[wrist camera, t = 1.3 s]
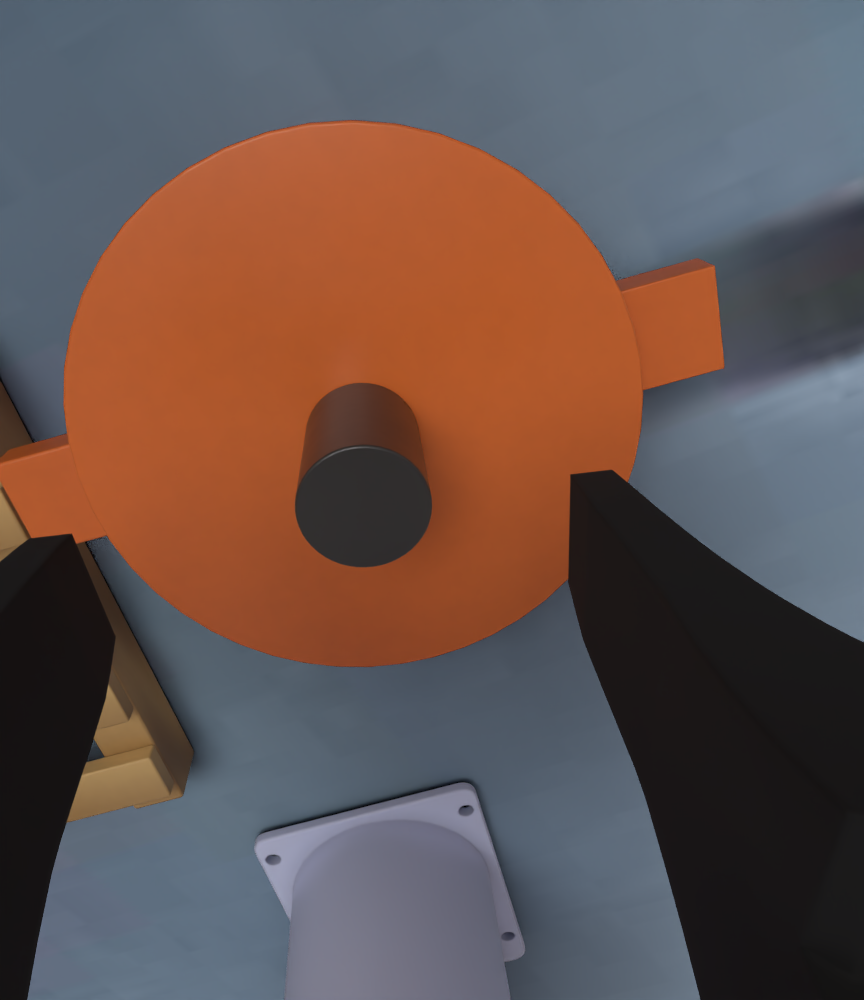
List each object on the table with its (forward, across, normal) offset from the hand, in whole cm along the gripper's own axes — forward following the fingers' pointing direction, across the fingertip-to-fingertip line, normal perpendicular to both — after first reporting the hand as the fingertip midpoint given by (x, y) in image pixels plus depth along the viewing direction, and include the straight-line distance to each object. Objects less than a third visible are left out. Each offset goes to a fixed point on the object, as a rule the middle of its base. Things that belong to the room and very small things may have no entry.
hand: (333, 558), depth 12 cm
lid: (+6, 0, +1) cm, 6 cm away
